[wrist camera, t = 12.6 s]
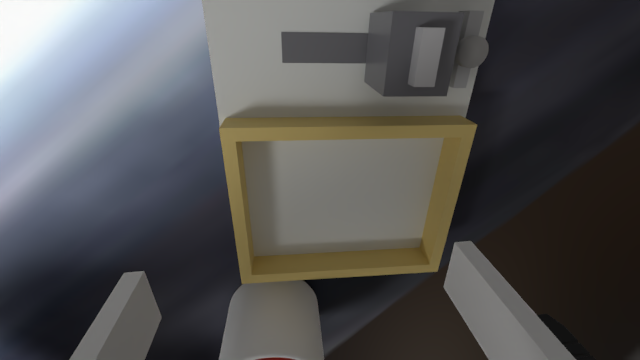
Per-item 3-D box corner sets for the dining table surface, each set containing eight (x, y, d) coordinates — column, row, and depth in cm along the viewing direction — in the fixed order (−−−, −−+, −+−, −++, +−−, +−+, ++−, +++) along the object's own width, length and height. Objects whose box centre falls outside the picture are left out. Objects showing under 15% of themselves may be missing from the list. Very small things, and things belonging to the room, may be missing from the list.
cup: (214, 306, 35) (190, 401, 26) (265, 253, 32) (257, 340, 23) (282, 335, 39) (281, 427, 30) (333, 290, 36) (349, 377, 27)
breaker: (364, 81, 22) (388, 100, 17) (369, 12, 20) (399, 10, 15) (415, 81, 23) (454, 100, 18) (426, 14, 21) (474, 12, 15)
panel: (242, 255, 32) (236, 288, 28) (184, -178, 17) (154, -238, 13) (423, 245, 34) (441, 274, 30) (513, -151, 19) (574, -197, 15)
